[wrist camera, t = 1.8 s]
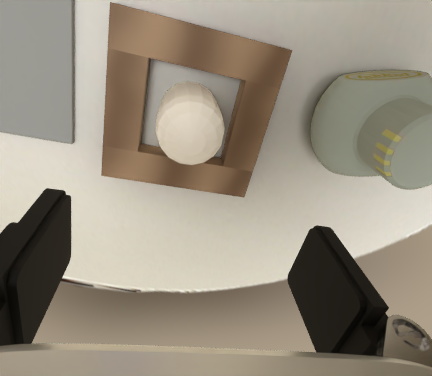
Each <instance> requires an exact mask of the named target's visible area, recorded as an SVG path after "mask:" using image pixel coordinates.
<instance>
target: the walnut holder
mask: <svg viewBox="0 0 432 376" xmlns="http://www.w3.org/2000/svg"><path fill="white" fill-rule="evenodd" d="M291 53H292V50H288V49H285V48H281V47H277V46H273V45H270V44H266V43H262V42H258V41H255V40H251V39H247V38H243V37H240V36H236V35H232V34H228V33H225V32H221V31H217V30H213V29H210V28H206V27H202V26H198V25H195V24H191V23H187V22H183V21H180V20H176V19H172V18H168V17H165V16H161V15H157V14H153V13H150V12H146V11H142V10H138V9H134V8H131V7H127V6H123V5H119V4H116V3H111V2H110V15H109V35H108V55H107V75H106V95H105V115H104V135H103V155H102V175H101V176H108V177H114V178H121V179H127V180H134V181H141V182H147V183H154V184H160V185H167V186H173V187H180V188H186V189H193V190H200V191H206V192H213V193H219V194H226V195H232V196H239V197H245V194H246V191H247V187H248V184H249V181H250V178H251V175H252V172H253V169H254V166H255V163H256V160H257V157H258V154H259V151H260V148H261V145H262V142H263V138H264V135H265V132H266V129H267V126H268V123H269V120H270V117H271V114H272V111H273V108H274V105H275V102H276V99H277V96H278V93H279V90H280V86H281V83H282V80H283V77H284V74H285V71H286V68H287V65H288V62H289V59H290V56H291ZM150 58H152V59H156V60H161V61H165V62H169V63H173V64H177V65H182V66H186V67H190V68H194V69H199V70H203V71H207V72H211V73H216V74H220V75H224V76H228V77H233V78H237V79H241V83H240V86H239V90H238V94H237V98H236V102H235V105H234V109H233V113H232V117H231V121H230V125H229V128H228V132H227V136H226V140H225V144H224V148H223V151H222V155H221V158H218V157H212V158H210V159H208V160H207V161H205V162H204V163H199V164H195V165H188V164H181V163H178V162H176V161H174V160H173V159H171V158H169V157H168V156H167V155H166V154H165V152H164V151H163V150H162V149H161V147H156V146H151V145H145V144H141V135H142V126H143V118H144V109H145V100H146V92H147V83H148V74H149V66H150Z"/></svg>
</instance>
